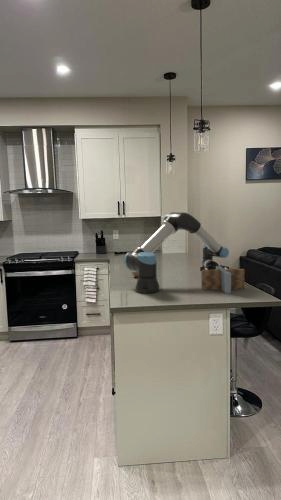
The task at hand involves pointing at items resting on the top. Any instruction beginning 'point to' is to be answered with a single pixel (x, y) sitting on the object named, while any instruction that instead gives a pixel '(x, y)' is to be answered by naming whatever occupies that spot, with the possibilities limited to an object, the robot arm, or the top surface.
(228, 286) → the slate plate
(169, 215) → the robot arm
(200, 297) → the top surface
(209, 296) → the top surface
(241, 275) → the brown wooden panel
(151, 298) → the top surface
